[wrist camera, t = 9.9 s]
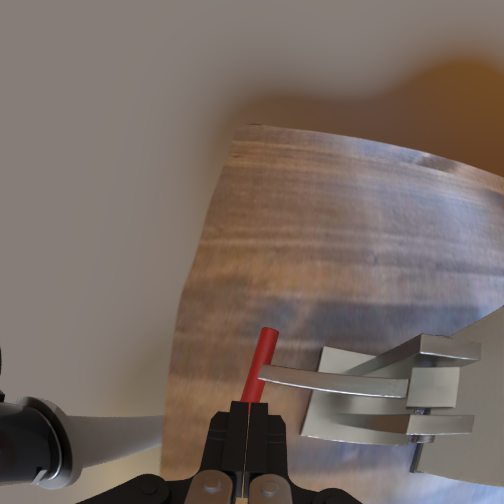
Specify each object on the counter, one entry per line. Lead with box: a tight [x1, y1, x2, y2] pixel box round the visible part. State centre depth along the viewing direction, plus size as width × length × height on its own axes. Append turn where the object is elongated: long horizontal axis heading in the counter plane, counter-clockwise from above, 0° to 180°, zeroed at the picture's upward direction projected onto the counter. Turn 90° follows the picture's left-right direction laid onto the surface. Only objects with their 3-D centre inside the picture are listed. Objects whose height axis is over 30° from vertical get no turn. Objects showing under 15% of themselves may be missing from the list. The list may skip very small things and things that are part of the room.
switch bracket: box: [299, 334, 481, 446], centre depth 16 cm, size 10×8×13 cm
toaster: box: [410, 305, 504, 487], centre depth 14 cm, size 9×14×14 cm, turn 164°
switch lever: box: [241, 327, 460, 415], centre depth 15 cm, size 13×6×2 cm
